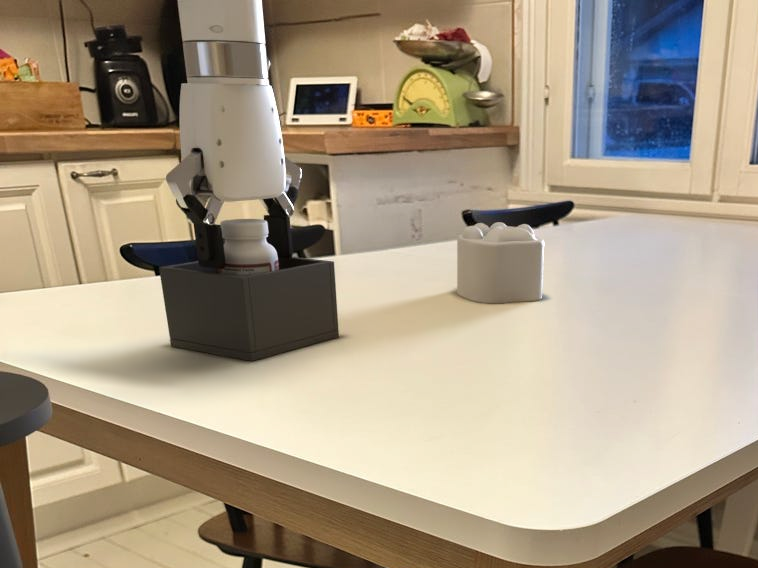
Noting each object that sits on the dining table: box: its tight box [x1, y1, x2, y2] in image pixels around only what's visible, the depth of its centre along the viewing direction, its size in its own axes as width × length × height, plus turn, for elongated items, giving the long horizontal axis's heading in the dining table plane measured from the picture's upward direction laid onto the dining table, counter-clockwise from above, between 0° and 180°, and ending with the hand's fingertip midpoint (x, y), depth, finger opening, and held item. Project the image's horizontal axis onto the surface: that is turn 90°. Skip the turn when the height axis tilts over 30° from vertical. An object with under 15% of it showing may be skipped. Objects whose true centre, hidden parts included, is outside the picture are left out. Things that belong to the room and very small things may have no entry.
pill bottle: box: [218, 218, 279, 277], centre depth 96 cm, size 6×6×11 cm
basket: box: [158, 256, 340, 362], centre depth 97 cm, size 14×12×8 cm
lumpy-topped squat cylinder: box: [456, 221, 545, 304], centre depth 123 cm, size 10×13×9 cm
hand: (247, 261), depth 95 cm, fingers open, 9 cm apart
